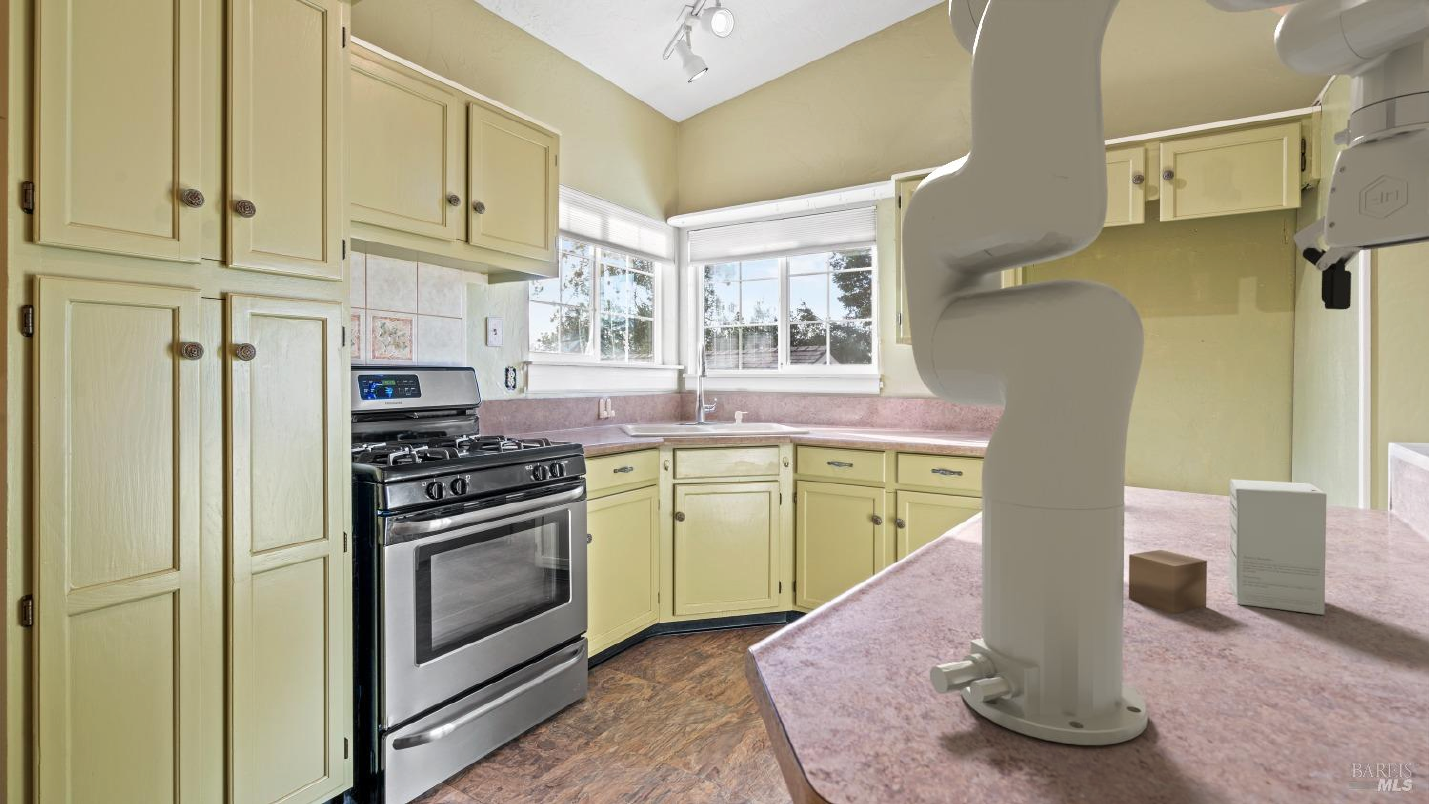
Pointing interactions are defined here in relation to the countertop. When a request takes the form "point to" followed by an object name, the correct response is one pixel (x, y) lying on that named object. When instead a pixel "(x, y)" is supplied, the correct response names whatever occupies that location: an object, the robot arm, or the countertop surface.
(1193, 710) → the countertop surface
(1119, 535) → the robot arm
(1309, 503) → the supplement box
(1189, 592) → the walnut cube
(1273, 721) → the countertop surface
